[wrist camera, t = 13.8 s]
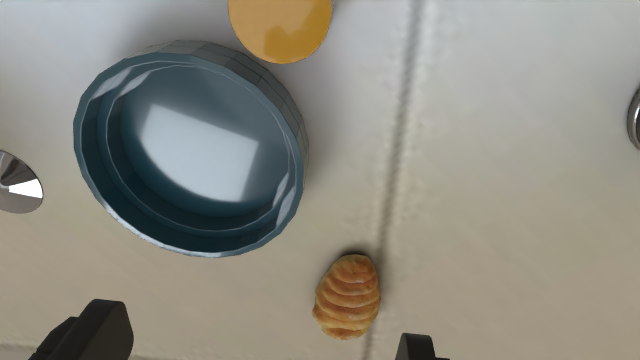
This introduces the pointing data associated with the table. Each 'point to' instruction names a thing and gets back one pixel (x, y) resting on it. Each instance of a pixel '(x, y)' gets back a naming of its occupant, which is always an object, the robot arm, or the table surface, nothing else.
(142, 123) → the bowl
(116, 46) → the table surface
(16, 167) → the wine glass
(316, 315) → the pastry
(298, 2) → the tan ridged cylinder
